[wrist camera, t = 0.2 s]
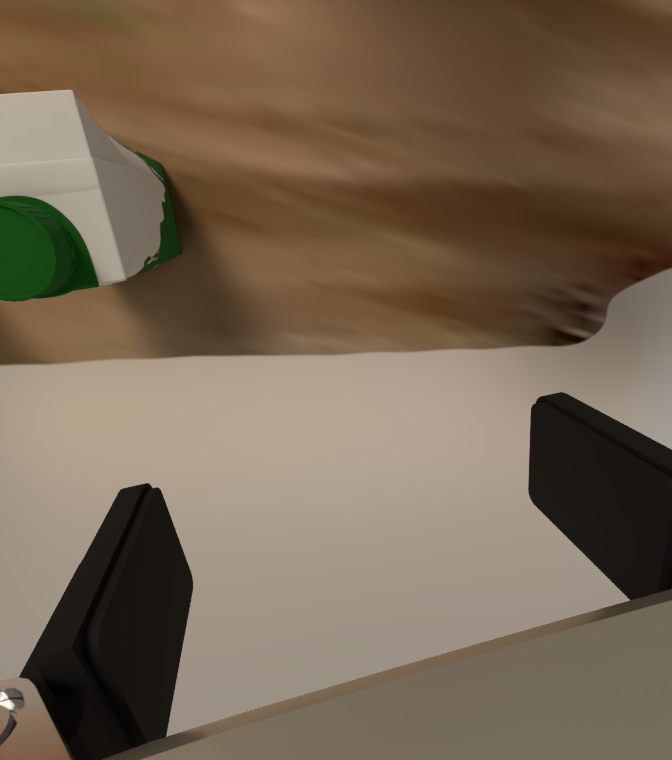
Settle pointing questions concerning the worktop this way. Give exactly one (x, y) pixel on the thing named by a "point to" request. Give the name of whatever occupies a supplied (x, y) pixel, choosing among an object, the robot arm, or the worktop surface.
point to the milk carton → (74, 201)
